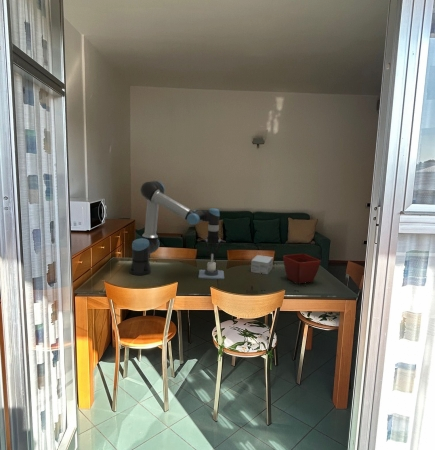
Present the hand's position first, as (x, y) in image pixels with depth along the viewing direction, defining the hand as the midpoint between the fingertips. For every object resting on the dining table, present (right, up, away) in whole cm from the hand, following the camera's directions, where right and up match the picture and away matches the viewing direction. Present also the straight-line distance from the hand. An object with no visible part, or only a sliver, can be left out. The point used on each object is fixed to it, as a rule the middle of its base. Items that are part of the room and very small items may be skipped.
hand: (212, 262), depth 241 cm
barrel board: (-1, -9, +2) cm, 9 cm away
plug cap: (-1, -8, +2) cm, 8 cm away
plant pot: (+62, -13, -1) cm, 64 cm away
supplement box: (+38, -8, +19) cm, 43 cm away
